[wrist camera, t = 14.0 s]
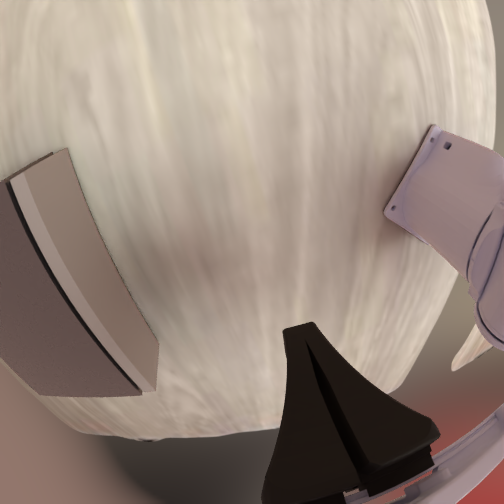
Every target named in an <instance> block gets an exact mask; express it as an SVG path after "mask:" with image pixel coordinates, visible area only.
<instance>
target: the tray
mask: <svg viewBox="0 0 504 504" xmlns="http://www.w3.org/2000/svg"><path fill="white" fill-rule="evenodd" d="M10 182H11V185H12V187H13V190H14V193H15V195H16V198H17V200H18V203H19V205H20V208H21V210H22V212H23V215H24V217H25V219H26V221H27V223H28V226H29V228H30V230H31V232H32V234H33V236H34V238H35V240H36V242H37V244H38V246H39V248H40V250H41V252H42V254H43V255H44V257H45V259H46V261H47V263H48V265H49V266H50V268H51V270H52V272H53V273H54V275H55V277H56V278H57V280H58V282H59V283H60V285H61V287H62V288H63V290H64V291H65V293H66V295H67V296H68V298H69V299H70V301H71V302H72V304H73V305H74V307H75V308H76V310H77V311H78V313H79V314H80V315H81V317H82V318H83V320H84V321H85V322H86V324H87V325H88V327H89V328H90V329H91V331H92V332H93V333H94V335H95V336H96V337H97V338H98V340H99V341H100V342H101V344H102V345H103V346H104V347H105V349H106V350H107V351H108V352H109V354H110V355H111V356H112V357H113V358H114V360H115V361H116V362H117V363H118V364H119V365H120V367H121V368H122V369H123V370H124V371H125V372H126V373H127V375H128V376H129V377H130V378H131V379H132V380H133V381H134V382H135V383H136V384H137V385H138V386H139V388H140V389H141V390H142V391H143V392H152V391H156V381H157V366H158V354H159V343H158V341H157V339H156V338H155V336H154V335H153V333H152V332H151V330H150V328H149V327H148V325H147V323H146V322H145V320H144V318H143V317H142V315H141V313H140V312H139V310H138V308H137V306H136V305H135V303H134V301H133V299H132V298H131V296H130V294H129V292H128V290H127V289H126V287H125V285H124V283H123V281H122V279H121V277H120V275H119V273H118V271H117V269H116V267H115V266H114V264H113V261H112V259H111V257H110V255H109V253H108V251H107V249H106V247H105V245H104V243H103V241H102V238H101V236H100V234H99V232H98V229H97V227H96V225H95V223H94V220H93V218H92V216H91V213H90V211H89V208H88V206H87V203H86V201H85V198H84V196H83V193H82V190H81V188H80V185H79V182H78V180H77V177H76V174H75V171H74V168H73V165H72V162H71V159H70V156H69V153H68V150H67V148H65V149H63V150H61V151H59V152H57V153H55V154H53V155H51V156H50V157H48V158H46V159H44V160H42V161H40V162H39V163H37V164H35V165H34V166H32V167H30V168H28V169H27V170H25V171H24V172H22V173H20V174H19V175H17V176H16V177H14V178H12V179H11V180H10Z"/></svg>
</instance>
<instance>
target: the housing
mask: <svg viewBox="0 0 504 504" xmlns="http://www.w3.org/2000/svg"><path fill="white" fill-rule="evenodd" d="M51 155H53V152H51V153H49V154H48V155H46V156H44V157H42V158H40V159H38V160H36V161H35V162H33V163H31V164H29V165H28V166H26V167H24V168H22V169H21V170H19V171H17V172H16V173H14V174H13V175H11V176H9V177H8V178H6V179H5V180H3V181H2V182H0V357H1V358H2V359H3V360H4V361H5V362H6V363H7V364H8V366H9V367H10V368H11V369H12V370H13V371H14V372H15V373H16V374H17V375H18V376H19V377H21V378H22V379H23V380H24V381H25V382H26V383H27V384H28V385H29V386H30V387H31V388H32V389H33V390H35V391H36V392H37V393H38V394H39V395H46V396H63V397H121V396H139V395H142V390H141V389H140V388H139V386H138V385H137V384H136V383H135V382H134V381H133V380H132V379H131V378H130V377H129V376H128V375H127V373H126V372H125V371H124V370H123V369H122V368H121V367H120V365H119V364H118V363H117V362H116V361H115V360H114V358H113V357H112V356H111V355H110V354H109V352H108V351H107V350H106V349H105V347H104V346H103V345H102V344H101V342H100V341H99V340H98V338H97V337H96V336H95V335H94V333H93V332H92V331H91V329H90V328H89V327H88V325H87V324H86V322H85V321H84V320H83V318H82V317H81V315H80V314H79V313H78V311H77V310H76V308H75V307H74V305H73V304H72V302H71V301H70V299H69V298H68V296H67V295H66V293H65V291H64V290H63V288H62V287H61V285H60V283H59V282H58V280H57V278H56V277H55V275H54V273H53V272H52V270H51V268H50V266H49V265H48V263H47V261H46V259H45V257H44V255H43V254H42V252H41V250H40V248H39V246H38V244H37V242H36V240H35V238H34V236H33V234H32V232H31V230H30V228H29V226H28V223H27V221H26V219H25V217H24V215H23V212H22V210H21V208H20V205H19V203H18V200H17V198H16V195H15V193H14V190H13V187H12V185H11V182H10V180H11V179H12V178H14V177H16V176H17V175H19V174H20V173H22V172H24V171H25V170H27V169H28V168H30V167H32V166H34V165H35V164H37V163H39V162H40V161H42V160H44V159H46V158H48V157H50V156H51Z"/></svg>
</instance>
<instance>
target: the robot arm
mask: <svg viewBox="0 0 504 504" xmlns="http://www.w3.org/2000/svg"><path fill="white" fill-rule="evenodd" d="M430 139H431V141H430ZM392 206H393V208H392ZM391 208H392V209H391ZM384 215H385V216H386V217H387V218H388V219H390V220H392V221H393V222H395V223H396V224H398V225H399V226H401V227H402V228H404V229H405V230H407V231H408V232H410V233H411V234H413V235H414V236H416V237H417V238H419V239H420V240H421V241H423V242H424V243H426V244H427V245H429V244H430V245H431V246H432V247H433V248H434V249H435V250H436V251H437V252H438V253H439V254H440V255H442V256H443V257H444V258H445V259H446V260H447V261H448V262H449V263H450V264H451V265H452V266H453V267H454V268H455V269H456V270H457V271H458V272H459V273H460V274H461V275H462V276H463V277H464V278H465V279H466V280H467V281H468V282H469V284H470V287H469V290H468V293H469V295H470V296H471V297H472V298H473V299H474V300H475V301H476V302H475V306H474V317H475V321H476V324H477V327H478V328H479V330H480V332H481V334H482V335H483V336H484V338H485V339H486V340H487V341H488V342H489V343H491V344H492V345H493V346H494V347H496V348H498V349H500V350H502V351H504V158H503V157H502V156H500V155H499V154H498V153H496V152H494V151H493V150H491V149H489V148H486V147H484V146H482V145H479V144H477V143H475V142H472V141H470V140H467V139H464V138H462V137H459V136H457V135H454V134H451V133H448V132H445V131H443V130H442V129H441V128H440V127H439V126H438V125H432V126H431V128H430V130H429V132H428V134H427V136H426V138H425V140H424V142H423V144H422V146H421V148H420V149H419V151H418V153H417V155H416V157H415V159H414V160H413V162H412V164H411V166H410V168H409V169H408V171H407V173H406V175H405V176H404V178H403V180H402V181H401V183H400V185H399V187H398V188H397V190H396V192H395V193H394V195H393V197H392V198H391V200H390V201H389V203H388V205H387V206H386V208H385V210H384ZM283 339H284V346H285V353H286V358H287V382H286V394H285V402H284V409H283V415H282V420H281V425H280V430H279V434H278V438H277V442H276V445H275V449H274V453H273V456H272V459H271V462H270V465H269V467H268V470H267V473H266V476H265V481H264V485H263V490H262V496H261V500H262V504H362V503H365V502H367V501H370V500H372V499H375V498H377V497H379V496H382V495H384V494H386V493H388V492H390V491H393V490H395V489H397V488H399V487H401V486H403V485H405V484H407V483H409V482H411V481H413V480H415V479H416V478H418V477H420V476H422V475H424V474H425V473H427V472H429V471H431V470H432V469H433V471H432V474H431V475H429V476H426V477H424V478H422V479H420V480H419V481H417V482H415V483H413V484H412V485H410V486H408V487H406V488H405V489H404V491H405V495H403V496H401V497H399V498H397V499H395V500H392V501H390V502H388V503H385V504H456V503H457V502H458V501H460V500H461V499H462V498H463V497H464V496H466V495H467V494H468V493H469V492H470V491H471V490H472V489H473V488H475V486H477V485H478V484H479V483H480V482H481V481H482V480H483V479H484V478H485V477H486V476H487V475H488V474H489V473H490V472H491V471H492V470H493V469H494V468H495V467H496V466H497V465H498V464H499V463H500V462H501V460H502V459H503V458H504V403H503V404H502V405H501V406H500V407H499V408H498V409H497V410H495V412H493V413H492V414H491V415H490V416H489V417H487V418H486V419H485V420H484V421H482V422H481V423H480V424H479V425H478V426H477V427H475V428H474V429H473V430H472V431H470V432H469V433H467V434H466V435H465V436H463V437H462V438H460V439H459V440H458V441H456V442H455V443H453V444H452V445H450V446H449V447H447V448H445V449H444V450H442V451H441V452H439V453H438V454H436V455H434V456H433V457H431V455H430V452H431V447H430V444H431V443H433V442H434V441H435V440H437V439H438V438H439V437H440V435H441V434H440V432H439V430H438V428H437V427H436V425H435V424H434V422H433V421H432V420H431V419H430V418H429V417H426V416H424V415H422V414H420V413H418V412H416V411H413V410H412V409H410V408H408V407H406V406H405V405H403V404H401V403H399V402H398V401H396V400H395V399H393V398H392V397H390V396H389V395H387V394H385V393H384V392H383V391H381V390H380V389H378V388H377V387H376V386H374V385H373V384H372V383H371V382H369V381H368V380H367V379H366V378H365V377H363V376H362V375H361V374H360V373H359V372H358V371H357V370H356V369H354V368H353V367H352V366H351V365H350V364H349V363H348V362H347V361H346V360H345V359H344V358H343V357H342V356H341V355H340V354H339V352H338V351H337V350H336V349H335V348H334V347H333V346H332V345H331V344H330V342H329V341H328V340H327V339H326V338H325V336H324V335H323V334H322V333H321V331H320V330H319V329H318V327H317V326H316V324H315V323H314V322H309V323H305V324H301V325H298V326H294V327H290V328H286V329H284V330H283ZM358 488H359V491H360V492H357V493H355V494H352V495H349V496H346V497H344V495H343V492H344V491H345V492H346V493H347V492H350V491H352V490H355V489H358Z"/></svg>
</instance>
